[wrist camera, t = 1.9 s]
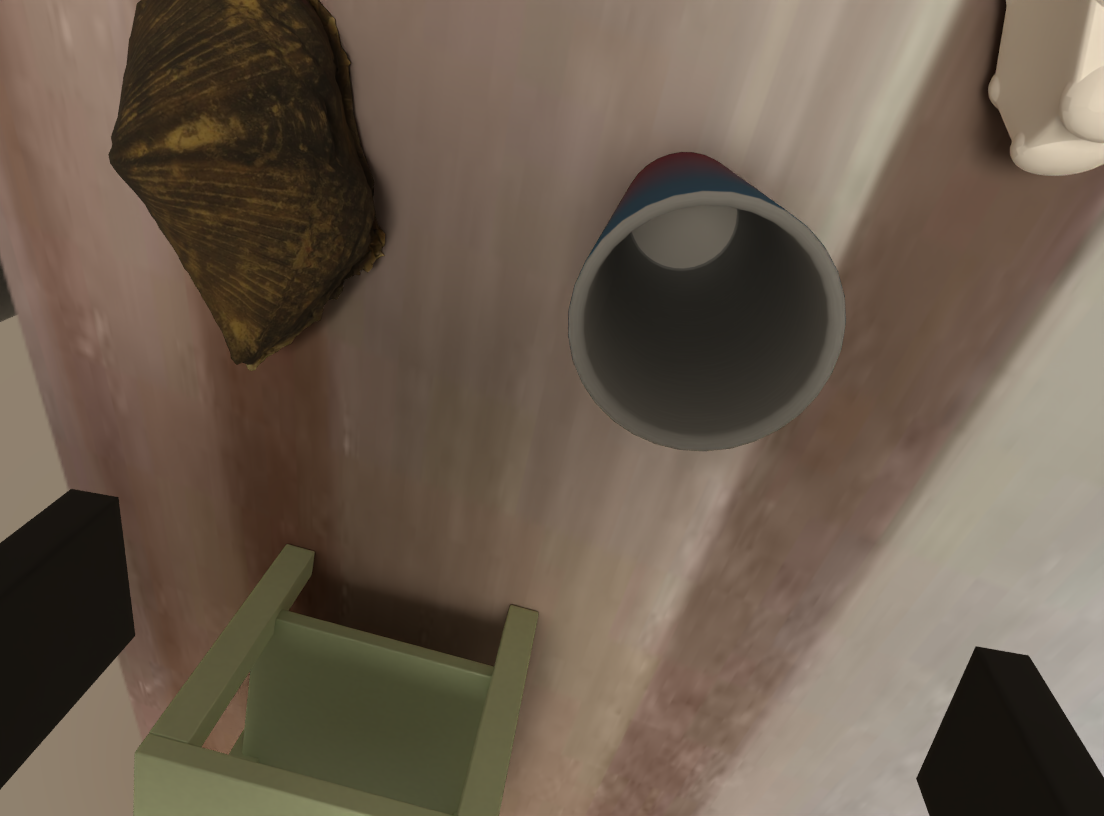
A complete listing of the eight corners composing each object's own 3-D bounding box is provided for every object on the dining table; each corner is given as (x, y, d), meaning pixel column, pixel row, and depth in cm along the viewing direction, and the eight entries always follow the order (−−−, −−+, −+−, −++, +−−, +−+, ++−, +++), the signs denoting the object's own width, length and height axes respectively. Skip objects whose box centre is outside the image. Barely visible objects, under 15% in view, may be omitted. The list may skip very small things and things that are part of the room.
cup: (749, 107, 32) (823, 154, 18) (779, 271, 34) (864, 422, 20) (582, 155, 33) (534, 233, 19) (623, 309, 35) (606, 474, 22)
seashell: (99, -40, 32) (9, -73, 25) (328, -69, 32) (297, -109, 26) (219, 352, 38) (171, 406, 31) (409, 322, 38) (401, 370, 32)
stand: (267, 704, 48) (129, 941, 35) (286, 543, 43) (133, 752, 30) (493, 765, 48) (436, 1023, 35) (539, 611, 43) (492, 849, 30)
